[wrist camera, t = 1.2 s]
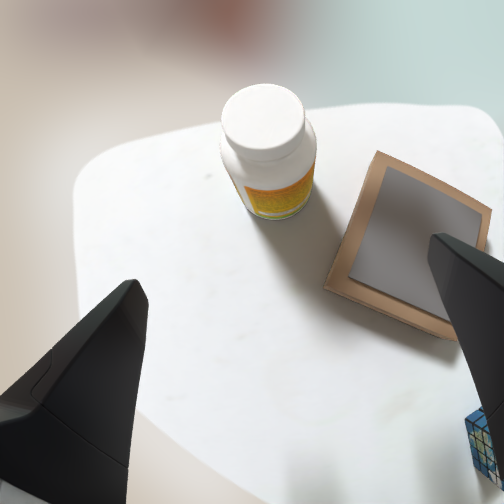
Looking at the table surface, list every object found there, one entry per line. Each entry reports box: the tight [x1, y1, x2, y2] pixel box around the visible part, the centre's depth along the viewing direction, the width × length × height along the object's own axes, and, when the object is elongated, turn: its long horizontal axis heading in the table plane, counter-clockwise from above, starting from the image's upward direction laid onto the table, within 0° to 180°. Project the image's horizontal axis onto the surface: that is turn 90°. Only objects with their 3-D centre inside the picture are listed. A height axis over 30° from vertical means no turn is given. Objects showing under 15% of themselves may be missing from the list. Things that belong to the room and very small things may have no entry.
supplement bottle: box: [220, 84, 317, 220], centre depth 19 cm, size 5×5×10 cm
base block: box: [323, 150, 492, 341], centre depth 20 cm, size 10×10×3 cm
